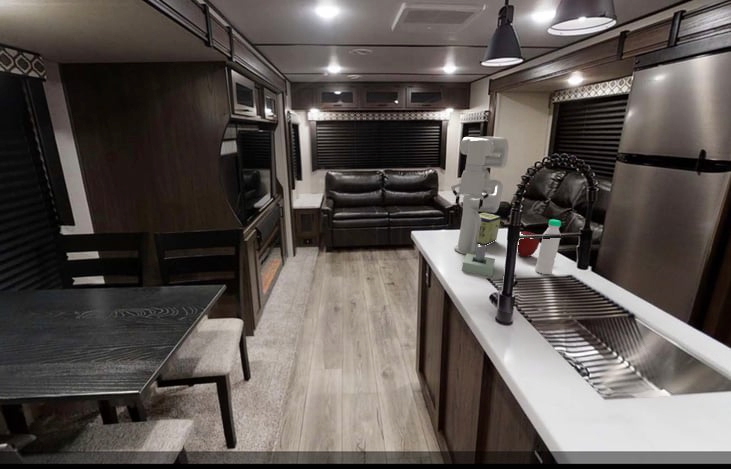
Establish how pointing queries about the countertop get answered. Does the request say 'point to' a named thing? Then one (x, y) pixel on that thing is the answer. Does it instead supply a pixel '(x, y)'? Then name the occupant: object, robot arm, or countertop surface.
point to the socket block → (478, 265)
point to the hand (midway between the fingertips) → (468, 206)
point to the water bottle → (548, 249)
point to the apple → (527, 245)
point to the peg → (480, 253)
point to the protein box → (488, 228)
